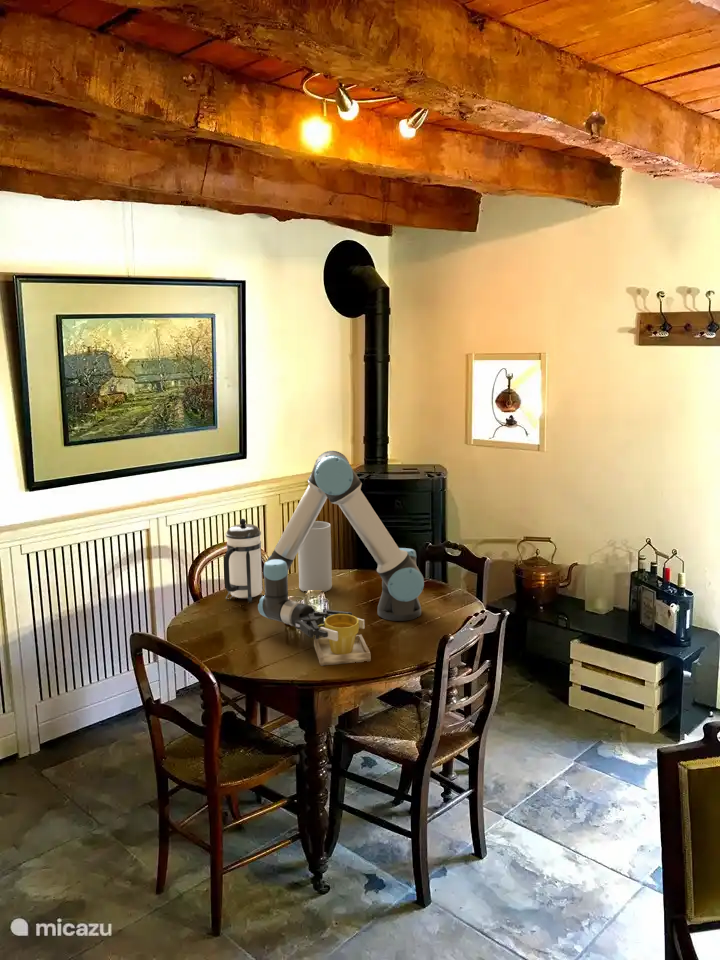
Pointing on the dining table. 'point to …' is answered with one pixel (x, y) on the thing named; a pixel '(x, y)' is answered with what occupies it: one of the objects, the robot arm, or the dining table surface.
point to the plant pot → (342, 632)
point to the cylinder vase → (316, 558)
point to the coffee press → (243, 561)
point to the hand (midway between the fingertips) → (350, 630)
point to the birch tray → (329, 658)
